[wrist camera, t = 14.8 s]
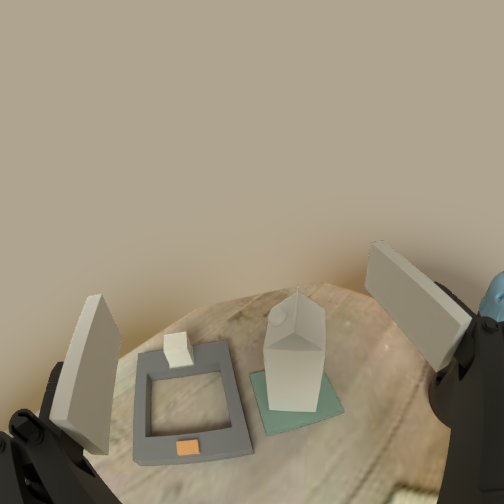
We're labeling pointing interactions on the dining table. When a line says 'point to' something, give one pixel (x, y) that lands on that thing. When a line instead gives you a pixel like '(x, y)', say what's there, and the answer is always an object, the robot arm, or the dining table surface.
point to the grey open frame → (195, 444)
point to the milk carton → (294, 354)
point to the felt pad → (290, 419)
